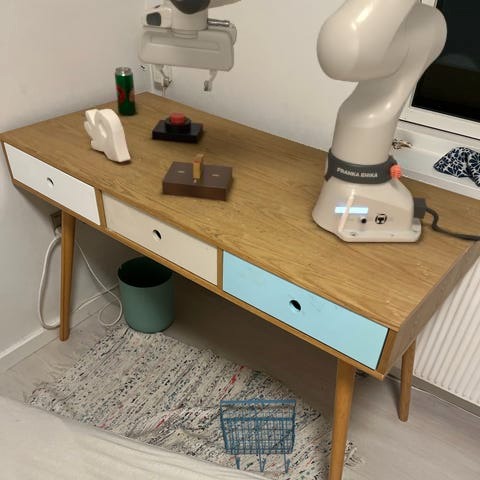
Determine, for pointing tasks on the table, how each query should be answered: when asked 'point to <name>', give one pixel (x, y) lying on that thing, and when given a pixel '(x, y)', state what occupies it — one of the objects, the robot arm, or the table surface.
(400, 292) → the table surface
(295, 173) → the table surface
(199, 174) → the lock turn
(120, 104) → the soda can
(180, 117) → the lock button
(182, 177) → the lock plate
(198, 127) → the button base
